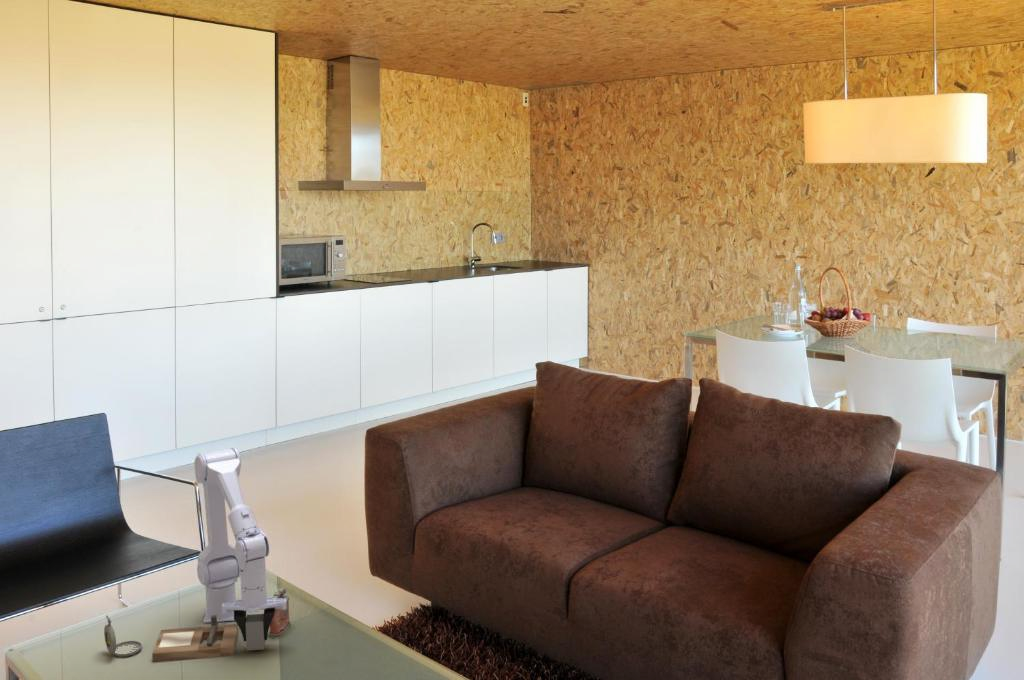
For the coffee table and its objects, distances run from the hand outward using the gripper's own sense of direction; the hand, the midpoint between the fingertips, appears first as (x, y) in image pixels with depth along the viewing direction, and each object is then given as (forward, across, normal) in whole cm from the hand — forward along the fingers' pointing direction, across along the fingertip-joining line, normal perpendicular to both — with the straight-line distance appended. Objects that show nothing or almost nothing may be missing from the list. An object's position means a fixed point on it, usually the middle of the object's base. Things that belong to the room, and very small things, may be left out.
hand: (255, 638), depth 227 cm
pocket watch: (+3, -31, +4) cm, 31 cm away
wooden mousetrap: (+3, -14, +4) cm, 15 cm away
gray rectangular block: (+2, 0, 0) cm, 2 cm away
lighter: (+3, +5, +9) cm, 11 cm away
